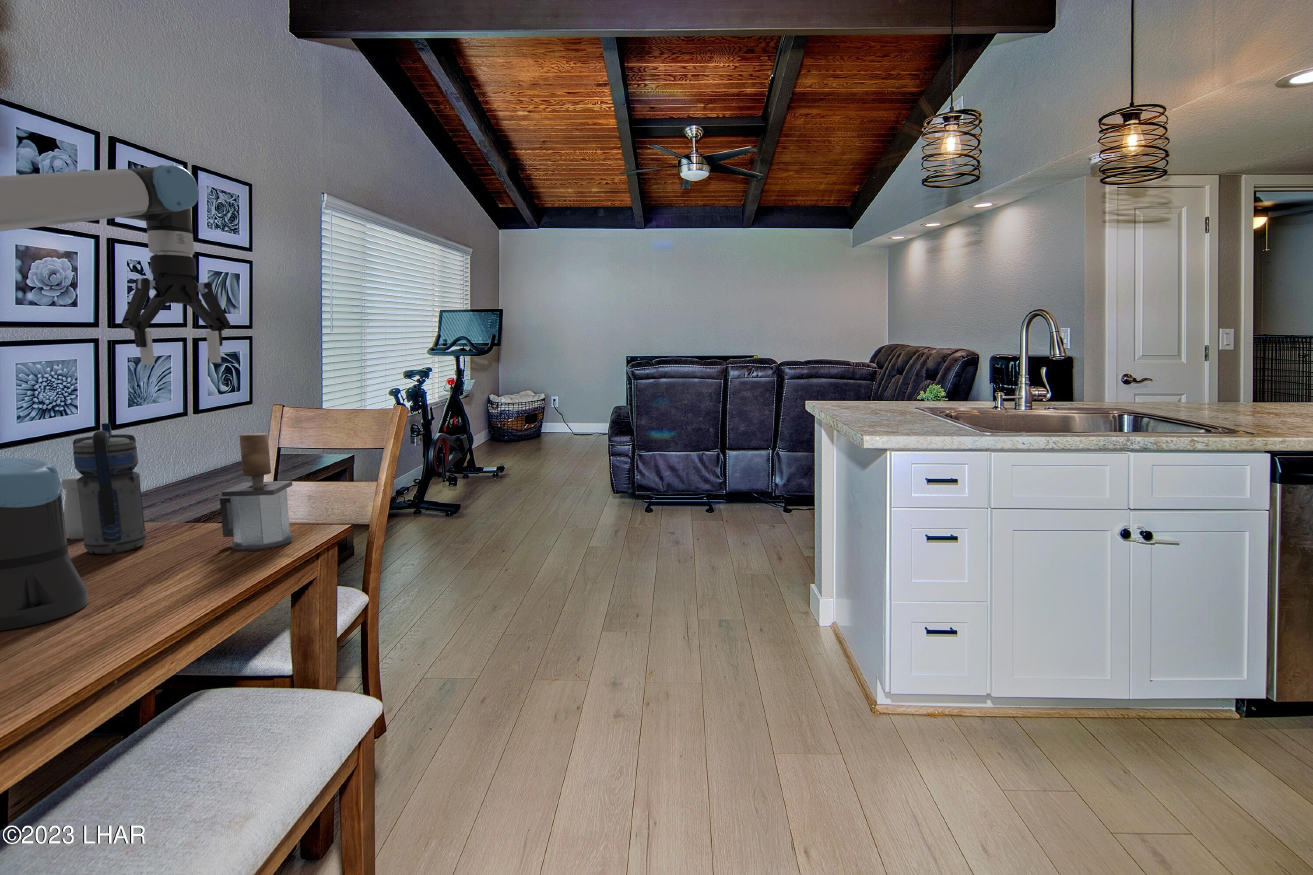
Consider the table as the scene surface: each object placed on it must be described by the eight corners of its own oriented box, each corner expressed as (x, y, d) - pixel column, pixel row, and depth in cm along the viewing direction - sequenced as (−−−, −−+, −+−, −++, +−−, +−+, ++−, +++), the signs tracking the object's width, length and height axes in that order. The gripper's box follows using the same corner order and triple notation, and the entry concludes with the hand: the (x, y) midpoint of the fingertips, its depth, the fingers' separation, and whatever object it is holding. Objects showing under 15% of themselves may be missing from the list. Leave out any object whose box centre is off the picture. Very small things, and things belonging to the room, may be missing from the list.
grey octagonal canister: (213, 552, 144) (208, 492, 142) (239, 537, 154) (234, 482, 153) (280, 550, 145) (275, 490, 143) (301, 535, 156) (296, 480, 154)
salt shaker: (83, 532, 161) (76, 474, 159) (104, 533, 159) (98, 474, 158) (56, 539, 155) (49, 479, 153) (78, 540, 154) (71, 480, 152)
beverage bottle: (79, 562, 139) (63, 431, 135) (89, 545, 150) (75, 424, 147) (144, 553, 144) (130, 427, 140) (149, 538, 155) (136, 421, 152)
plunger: (241, 516, 146) (234, 436, 144) (252, 510, 151) (246, 433, 149) (268, 515, 147) (261, 435, 145) (278, 509, 152) (271, 432, 149)
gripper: (116, 247, 132) (129, 366, 134) (243, 260, 154) (252, 361, 157) (91, 250, 135) (104, 365, 138) (219, 262, 157) (228, 361, 160)
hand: (183, 363), depth 147 cm, fingers open, 13 cm apart
